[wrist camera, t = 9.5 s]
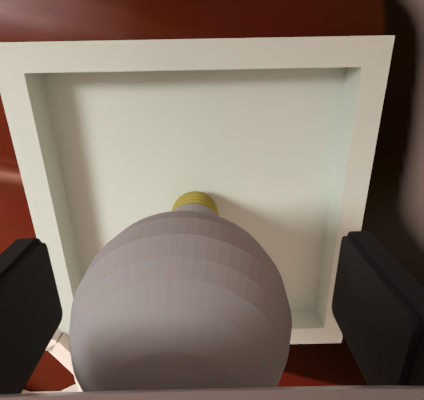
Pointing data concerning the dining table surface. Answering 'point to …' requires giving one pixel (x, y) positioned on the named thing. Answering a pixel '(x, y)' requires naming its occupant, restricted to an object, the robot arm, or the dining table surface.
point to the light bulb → (180, 307)
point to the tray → (200, 146)
